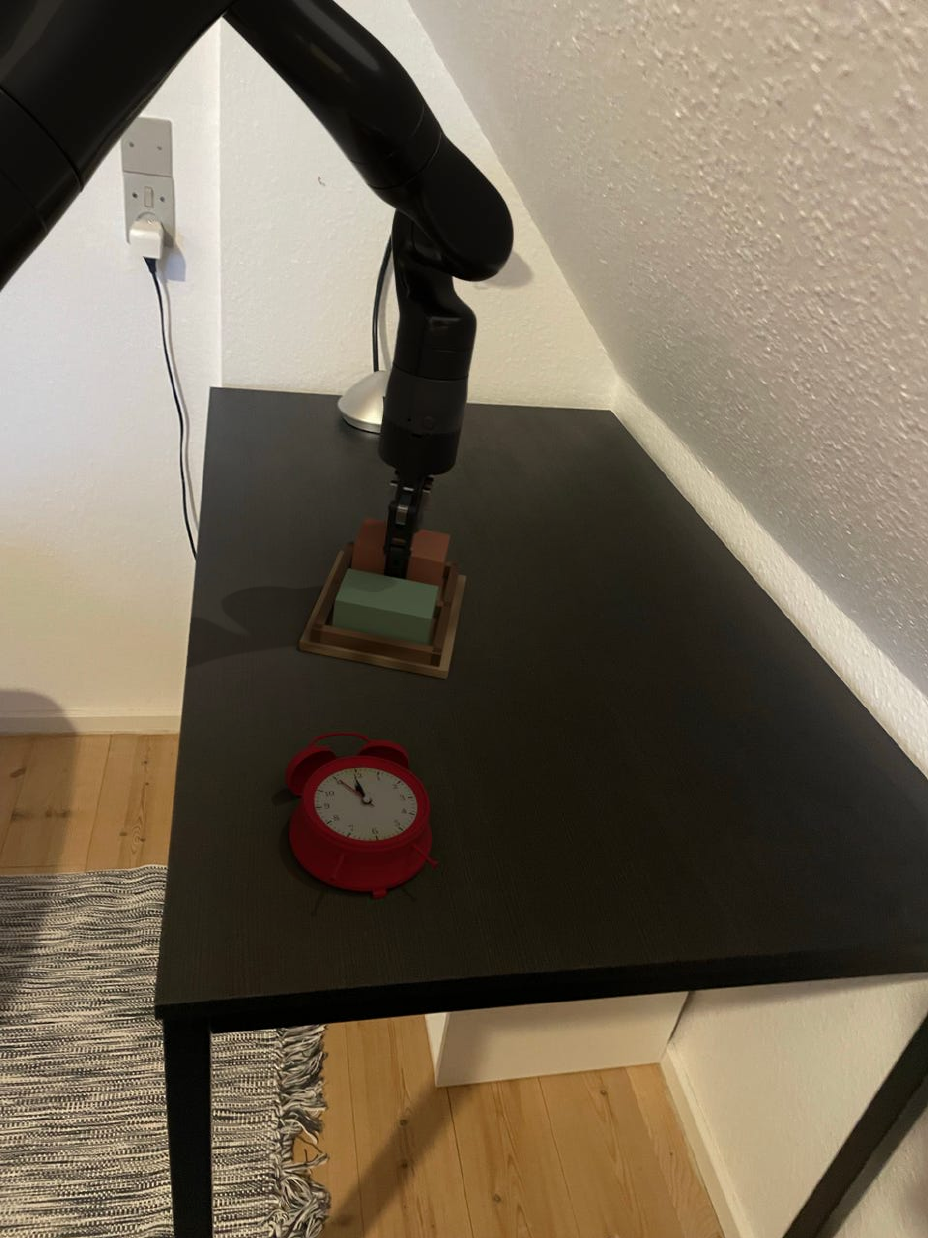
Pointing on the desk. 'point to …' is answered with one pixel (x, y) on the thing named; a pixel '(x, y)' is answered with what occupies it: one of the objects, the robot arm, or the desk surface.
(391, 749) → the alarm clock
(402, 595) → the pad sage
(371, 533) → the pad terracotta
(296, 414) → the desk surface
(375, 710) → the desk surface
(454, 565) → the divided wooden tray
